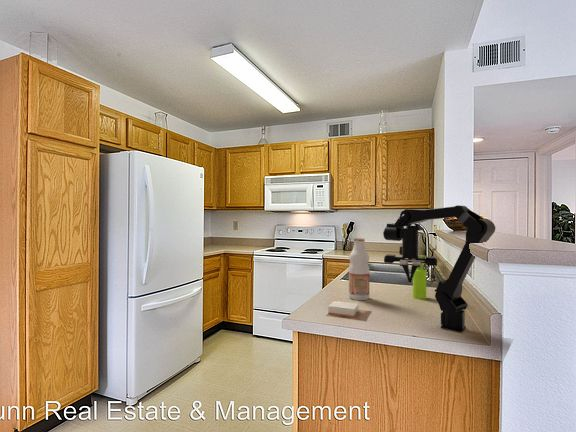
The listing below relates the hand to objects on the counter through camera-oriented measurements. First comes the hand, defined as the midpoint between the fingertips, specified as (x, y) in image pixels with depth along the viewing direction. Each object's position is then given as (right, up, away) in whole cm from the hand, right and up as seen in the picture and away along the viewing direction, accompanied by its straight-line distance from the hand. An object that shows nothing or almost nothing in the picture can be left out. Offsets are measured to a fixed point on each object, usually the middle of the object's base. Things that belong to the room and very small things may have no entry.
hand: (410, 282), depth 121 cm
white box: (-21, -11, 0) cm, 23 cm away
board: (-23, -13, +1) cm, 27 cm away
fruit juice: (-14, -13, +27) cm, 33 cm away
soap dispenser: (+16, -14, +28) cm, 35 cm away
